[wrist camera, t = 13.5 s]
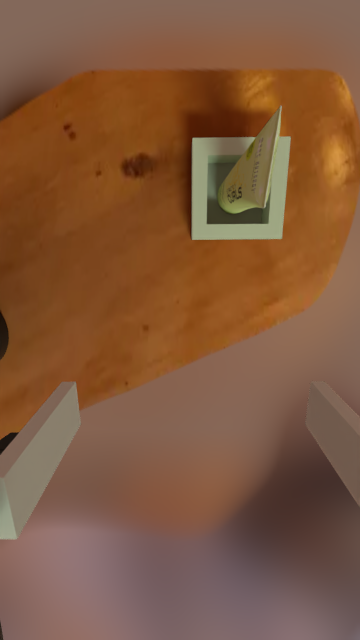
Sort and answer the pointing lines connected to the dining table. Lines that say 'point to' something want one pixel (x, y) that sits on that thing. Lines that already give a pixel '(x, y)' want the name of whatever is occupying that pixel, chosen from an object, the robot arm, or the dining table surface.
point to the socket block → (209, 173)
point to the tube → (252, 172)
